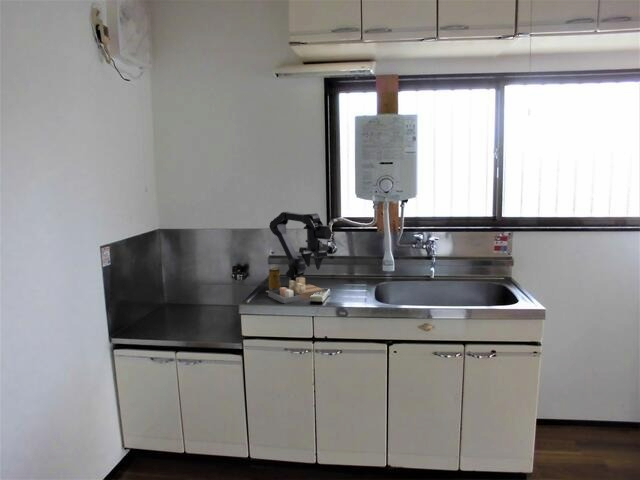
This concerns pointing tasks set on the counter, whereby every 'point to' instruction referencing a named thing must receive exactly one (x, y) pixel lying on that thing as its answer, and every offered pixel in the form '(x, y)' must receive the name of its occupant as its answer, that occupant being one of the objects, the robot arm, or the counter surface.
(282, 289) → the tile terracotta
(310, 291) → the plate
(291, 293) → the tile cream
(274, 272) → the condiment
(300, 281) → the t-shaped wooden block
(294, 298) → the tray
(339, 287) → the counter surface
